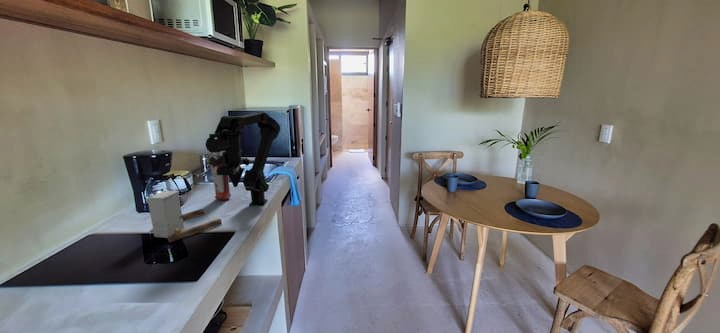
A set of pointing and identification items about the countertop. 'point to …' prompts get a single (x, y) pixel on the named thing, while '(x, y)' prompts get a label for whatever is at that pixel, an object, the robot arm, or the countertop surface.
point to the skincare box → (165, 213)
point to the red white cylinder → (220, 182)
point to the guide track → (193, 230)
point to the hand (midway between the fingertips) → (235, 186)
